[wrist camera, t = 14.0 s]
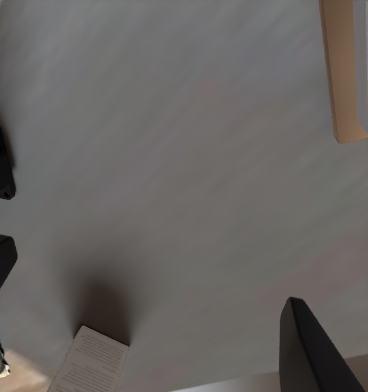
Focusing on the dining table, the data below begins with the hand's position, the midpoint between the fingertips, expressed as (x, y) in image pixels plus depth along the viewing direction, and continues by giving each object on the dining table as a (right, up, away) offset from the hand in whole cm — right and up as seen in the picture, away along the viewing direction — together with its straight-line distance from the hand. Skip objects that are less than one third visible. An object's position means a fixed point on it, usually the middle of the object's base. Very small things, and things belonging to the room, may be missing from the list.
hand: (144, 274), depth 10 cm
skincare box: (-8, -14, +26) cm, 31 cm away
